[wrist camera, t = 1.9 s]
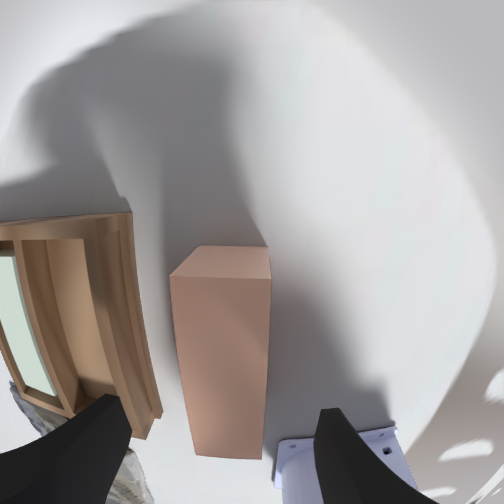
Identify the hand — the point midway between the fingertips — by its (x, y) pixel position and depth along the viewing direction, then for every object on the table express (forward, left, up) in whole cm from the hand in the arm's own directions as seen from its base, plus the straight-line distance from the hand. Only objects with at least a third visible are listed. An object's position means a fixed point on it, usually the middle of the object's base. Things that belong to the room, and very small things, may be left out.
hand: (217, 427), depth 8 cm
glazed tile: (+14, 0, -6) cm, 15 cm away
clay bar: (0, 0, -7) cm, 7 cm away
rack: (+11, 0, -7) cm, 13 cm away
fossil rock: (+17, +19, -8) cm, 27 cm away
